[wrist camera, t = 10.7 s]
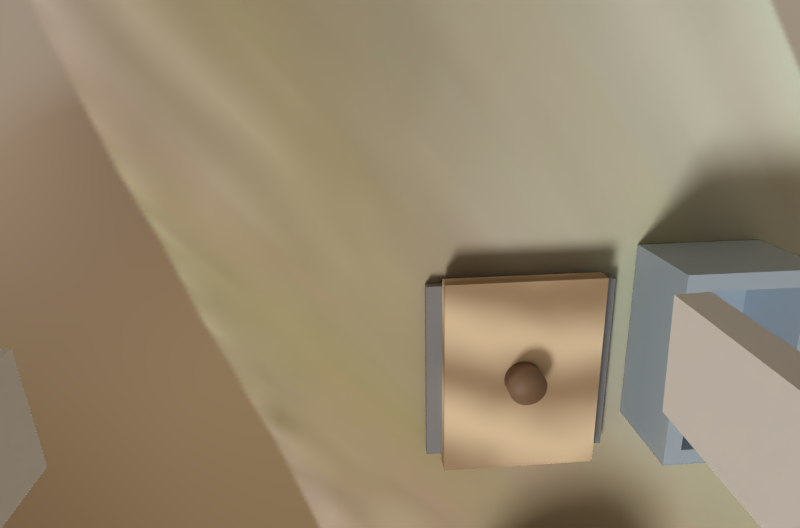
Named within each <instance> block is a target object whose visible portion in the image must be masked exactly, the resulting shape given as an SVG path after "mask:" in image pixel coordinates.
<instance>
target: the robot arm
mask: <svg viewBox="0 0 800 528" xmlns="http://www.w3.org/2000/svg"><path fill="white" fill-rule="evenodd" d="M662 412H663V413H664V414H665V415H666V416H667V418H668V419H669V420H670V421H671V422H672V423H673V425H674V426H675V427H676V428H677V429H678V430H679V432H680V433H681V434H682V435H683V436H684V437H685V439H686V440H687V441H688V442H689V443H690V445H691V446H692V447H693V448H694V449H695V450H696V452H697V453H698V454H699V455H700V456H701V457H702V459H703V460H704V461H705V462H706V463H707V464H708V466H709V467H710V468H711V469H712V470H713V472H714V473H715V474H716V475H717V476H718V477H719V479H720V480H721V481H722V482H723V483H724V484H725V486H726V487H727V488H728V489H729V490H730V492H731V493H732V494H733V495H734V496H735V497H736V499H737V500H738V501H739V502H740V503H741V504H742V506H743V507H744V508H745V509H746V510H747V511H748V513H749V514H750V515H751V516H752V517H753V519H754V520H755V521H756V522H757V523H758V524H759V526H760V527H761V528H800V352H799V351H798V350H796V349H795V348H794V347H792V346H791V345H789V344H788V343H786V342H785V341H783V340H782V339H780V338H779V337H777V336H776V335H774V334H773V333H771V332H770V331H768V330H767V329H765V328H764V327H762V326H761V325H759V324H758V323H757V322H755V321H754V320H752V319H751V318H749V317H748V316H746V315H745V314H743V313H742V312H740V311H739V310H737V309H736V308H734V307H733V306H731V305H730V304H728V303H727V302H725V301H724V300H722V299H721V298H720V297H718V296H717V295H715V294H714V293H712V292H702V293H689V294H677V295H674V302H673V312H672V322H671V332H670V341H669V351H668V361H667V371H666V381H665V390H664V400H663V410H662ZM46 467H47V465H46V462H45V458H44V455H43V452H42V449H41V445H40V442H39V439H38V435H37V432H36V429H35V426H34V422H33V419H32V416H31V412H30V409H29V406H28V403H27V399H26V396H25V393H24V390H23V386H22V383H21V380H20V376H19V373H18V370H17V367H16V364H15V360H14V357H13V353H12V350H11V348H10V349H0V528H2V526H3V525H4V524H5V523H6V521H7V520H8V519H9V517H10V516H11V514H12V513H13V512H14V510H15V509H16V508H17V506H18V505H19V504H20V502H21V501H22V500H23V498H24V497H25V496H26V494H27V493H28V492H29V490H30V489H31V488H32V486H33V485H34V484H35V482H36V481H37V480H38V478H39V477H40V476H41V474H42V473H43V471H44V470H45V469H46Z"/></svg>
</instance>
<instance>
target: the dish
mask: <svg viewBox="0 0 800 528" xmlns="http://www.w3.org/2000/svg"><path fill="white" fill-rule="evenodd" d="M702 292H712V293H714V294H715V295H717V296H718V297H720V298H721V299H722V300H724V301H725V302H727V303H728V304H730V305H731V306H733V307H734V308H736V309H737V310H739V311H740V312H742V313H743V314H745V315H746V316H748V317H749V318H751V319H752V320H754V321H755V322H757V323H758V324H759V325H761V326H762V327H764V328H765V329H767V330H768V331H770V332H771V333H773V334H774V335H776V336H777V337H779V338H780V339H782V340H783V341H785V342H786V343H788V344H789V345H791V346H792V347H794V348H795V349H796V350H798V351H799V352H800V256H797V255H795V254H793V253H790V252H788V251H785V250H783V249H781V248H778V247H776V246H773V245H771V244H769V243H766V242H764V241H761V240H738V241H714V242H689V243H664V244H639V245H638V249H637V258H636V268H635V277H634V286H633V296H632V305H631V314H630V324H629V333H628V342H627V351H626V361H625V370H624V379H623V389H622V398H621V407H620V412H621V413H622V415H623V416H624V417H625V418H626V420H627V421H628V422H629V424H630V425H631V426H632V427H633V429H634V430H635V431H636V432H637V434H638V435H639V436H640V437H641V439H642V440H643V441H644V442H645V444H646V445H647V446H648V448H649V449H650V450H651V451H652V453H653V454H654V455H655V456H656V458H657V459H658V460H659V461H660V463H661V464H662V465H678V464H693V463H706V462H705V461H704V460H703V459H702V457H701V456H700V455H699V454H698V453H697V452H696V450H695V449H694V448H693V447H692V446H691V445H690V443H689V442H688V441H687V440H686V439H685V437H684V436H683V435H682V434H681V433H680V432H679V430H678V429H677V428H676V427H675V426H674V425H673V423H672V422H671V421H670V420H669V419H668V418H667V416H666V415H665V414H664V413H663V412H662V410H663V400H664V390H665V381H666V371H667V361H668V351H669V341H670V332H671V322H672V312H673V302H674V295H677V294H689V293H702Z"/></svg>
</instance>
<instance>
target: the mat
mask: <svg viewBox="0 0 800 528" xmlns="http://www.w3.org/2000/svg"><path fill="white" fill-rule="evenodd" d="M607 277H608V278H609V282H608V293H607V303H606V314H605V325H604V335H603V346H602V356H601V367H600V378H599V388H598V399H597V410H596V420H595V431H594V442H593V443H600V436H601V426H602V416H603V406H604V396H605V385H606V375H607V365H608V355H609V344H610V334H611V324H612V314H613V303H614V293H615V283H616V278H614V277H613V276H607ZM425 361H426V451H427V454H433V453H442V283H431V284H425Z"/></svg>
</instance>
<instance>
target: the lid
mask: <svg viewBox="0 0 800 528" xmlns="http://www.w3.org/2000/svg"><path fill="white" fill-rule="evenodd" d="M608 282H609V278H608V277H607V276H605V275H604V274H603V273H602V272H590V273H567V274H544V275H521V276H498V277H475V278H452V279H442V463H443V467H444V471H445V470H460V469H476V468H491V467H506V466H521V465H536V464H552V463H567V462H582V461H592V452H593V442H594V431H595V420H596V410H597V399H598V388H599V378H600V367H601V356H602V346H603V335H604V325H605V314H606V303H607V293H608Z"/></svg>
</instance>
